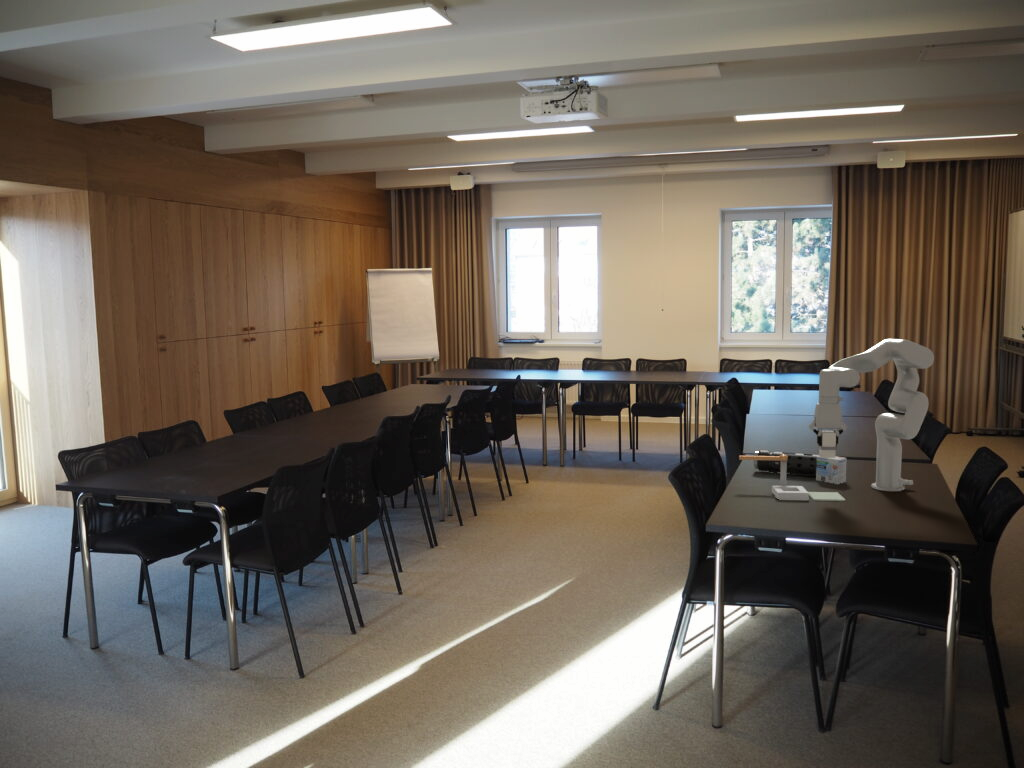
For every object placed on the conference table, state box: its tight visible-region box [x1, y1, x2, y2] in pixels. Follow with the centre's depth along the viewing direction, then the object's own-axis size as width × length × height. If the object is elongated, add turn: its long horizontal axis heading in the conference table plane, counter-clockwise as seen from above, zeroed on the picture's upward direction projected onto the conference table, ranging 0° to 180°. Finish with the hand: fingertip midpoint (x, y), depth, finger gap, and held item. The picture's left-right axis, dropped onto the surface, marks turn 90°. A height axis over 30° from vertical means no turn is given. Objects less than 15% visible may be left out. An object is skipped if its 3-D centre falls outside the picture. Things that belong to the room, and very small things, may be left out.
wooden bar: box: [738, 455, 788, 461], centre depth 356 cm, size 20×3×2 cm, turn 81°
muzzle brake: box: [753, 449, 819, 477], centre depth 383 cm, size 10×28×10 cm, turn 63°
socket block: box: [771, 461, 810, 501], centre depth 347 cm, size 12×22×12 cm, turn 173°
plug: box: [817, 430, 838, 458], centre depth 339 cm, size 6×6×10 cm
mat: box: [807, 491, 846, 502], centre depth 341 cm, size 12×12×1 cm
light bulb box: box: [815, 455, 847, 485], centre depth 368 cm, size 11×7×11 cm, turn 40°
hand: (827, 445), depth 339 cm, fingers closed on plug, 5 cm apart
